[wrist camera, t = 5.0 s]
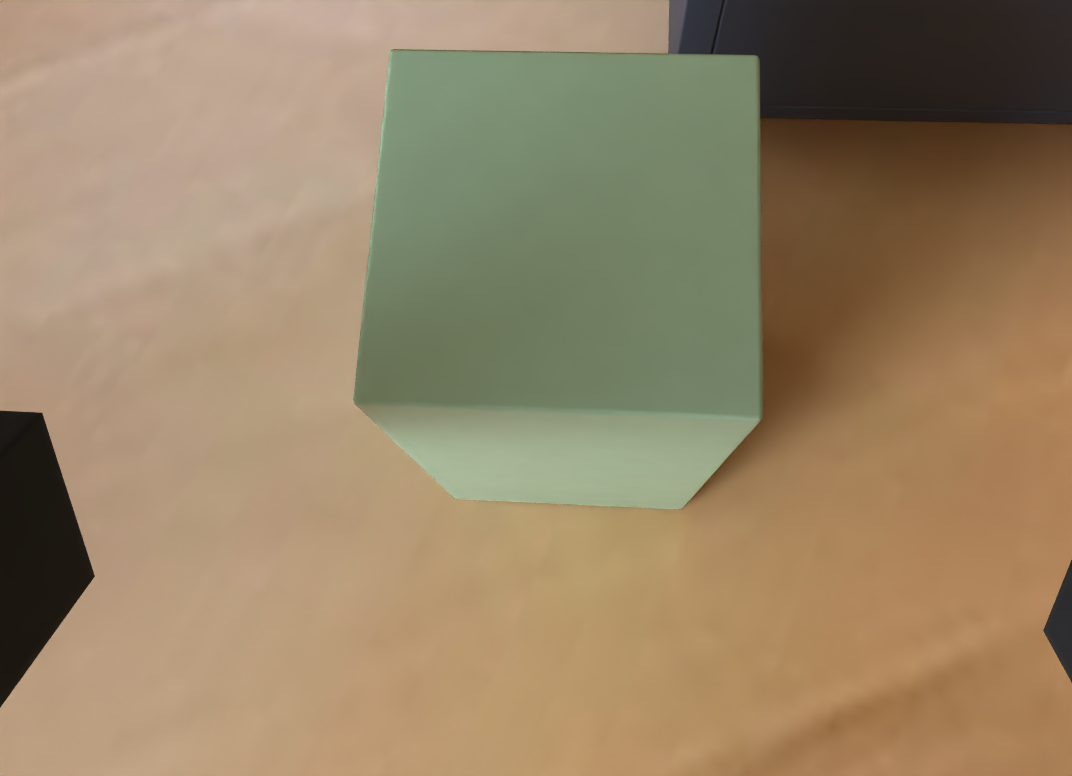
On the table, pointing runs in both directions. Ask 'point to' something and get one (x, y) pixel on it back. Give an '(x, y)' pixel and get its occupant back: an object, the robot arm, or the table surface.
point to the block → (566, 272)
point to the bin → (893, 56)
